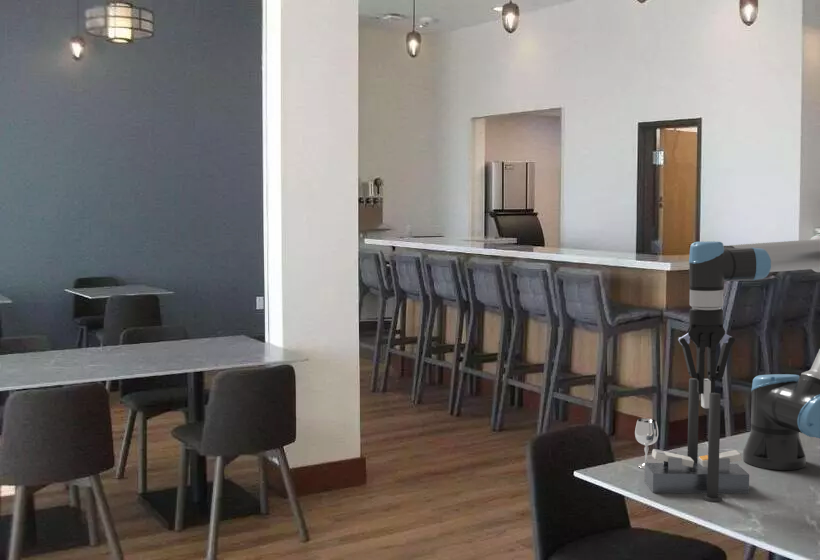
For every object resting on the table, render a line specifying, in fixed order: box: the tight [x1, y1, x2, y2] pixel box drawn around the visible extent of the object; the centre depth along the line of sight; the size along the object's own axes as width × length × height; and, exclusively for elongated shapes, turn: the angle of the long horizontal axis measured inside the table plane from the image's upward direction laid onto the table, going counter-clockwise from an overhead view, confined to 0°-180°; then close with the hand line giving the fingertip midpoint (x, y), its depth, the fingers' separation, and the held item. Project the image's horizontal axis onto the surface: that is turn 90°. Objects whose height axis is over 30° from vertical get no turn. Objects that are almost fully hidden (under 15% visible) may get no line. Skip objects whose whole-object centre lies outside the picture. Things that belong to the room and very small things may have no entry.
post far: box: [686, 377, 700, 463], centre depth 223 cm, size 4×4×24 cm
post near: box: [702, 392, 723, 503], centre depth 205 cm, size 4×4×24 cm
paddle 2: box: [698, 449, 743, 467], centre depth 214 cm, size 9×4×2 cm, turn 87°
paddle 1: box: [651, 448, 694, 467], centre depth 215 cm, size 9×4×2 cm, turn 88°
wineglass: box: [634, 418, 659, 470], centre depth 232 cm, size 6×6×12 cm
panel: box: [644, 451, 750, 495], centre depth 215 cm, size 22×9×8 cm, turn 87°
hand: (705, 407), depth 213 cm, fingers closed
